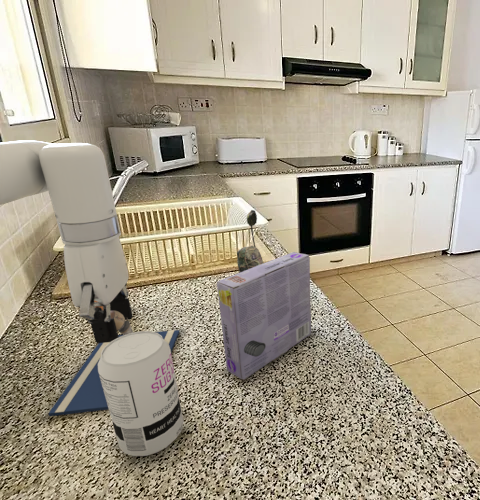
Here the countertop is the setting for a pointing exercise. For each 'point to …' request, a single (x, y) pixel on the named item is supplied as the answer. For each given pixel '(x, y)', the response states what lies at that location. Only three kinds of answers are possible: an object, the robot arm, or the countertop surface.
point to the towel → (92, 383)
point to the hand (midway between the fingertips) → (115, 329)
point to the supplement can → (141, 392)
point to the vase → (119, 321)
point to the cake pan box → (264, 312)
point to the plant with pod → (249, 249)
